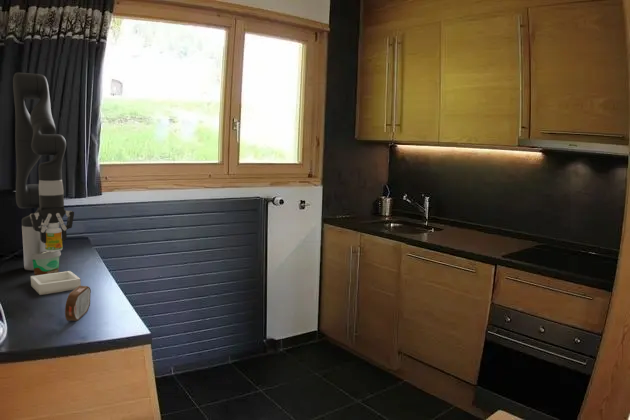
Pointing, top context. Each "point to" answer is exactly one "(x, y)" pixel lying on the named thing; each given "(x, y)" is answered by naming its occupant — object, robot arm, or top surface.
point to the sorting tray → (55, 282)
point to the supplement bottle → (53, 237)
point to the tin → (77, 303)
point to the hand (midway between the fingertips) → (53, 241)
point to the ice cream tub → (46, 262)
